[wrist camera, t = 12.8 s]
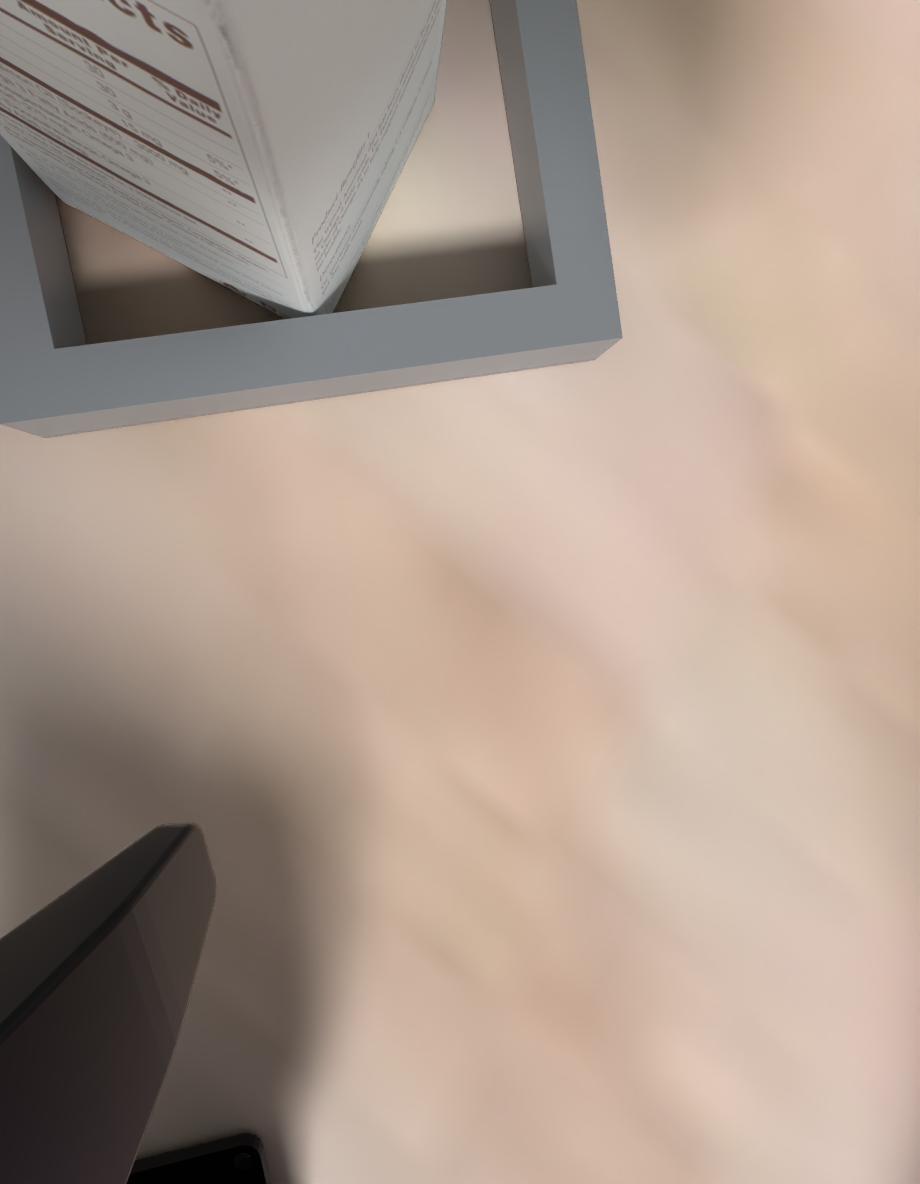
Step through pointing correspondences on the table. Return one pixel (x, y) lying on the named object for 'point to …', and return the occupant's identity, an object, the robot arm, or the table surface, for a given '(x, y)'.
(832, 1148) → the table surface
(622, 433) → the table surface
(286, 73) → the supplement box
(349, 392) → the holder frame
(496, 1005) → the table surface
